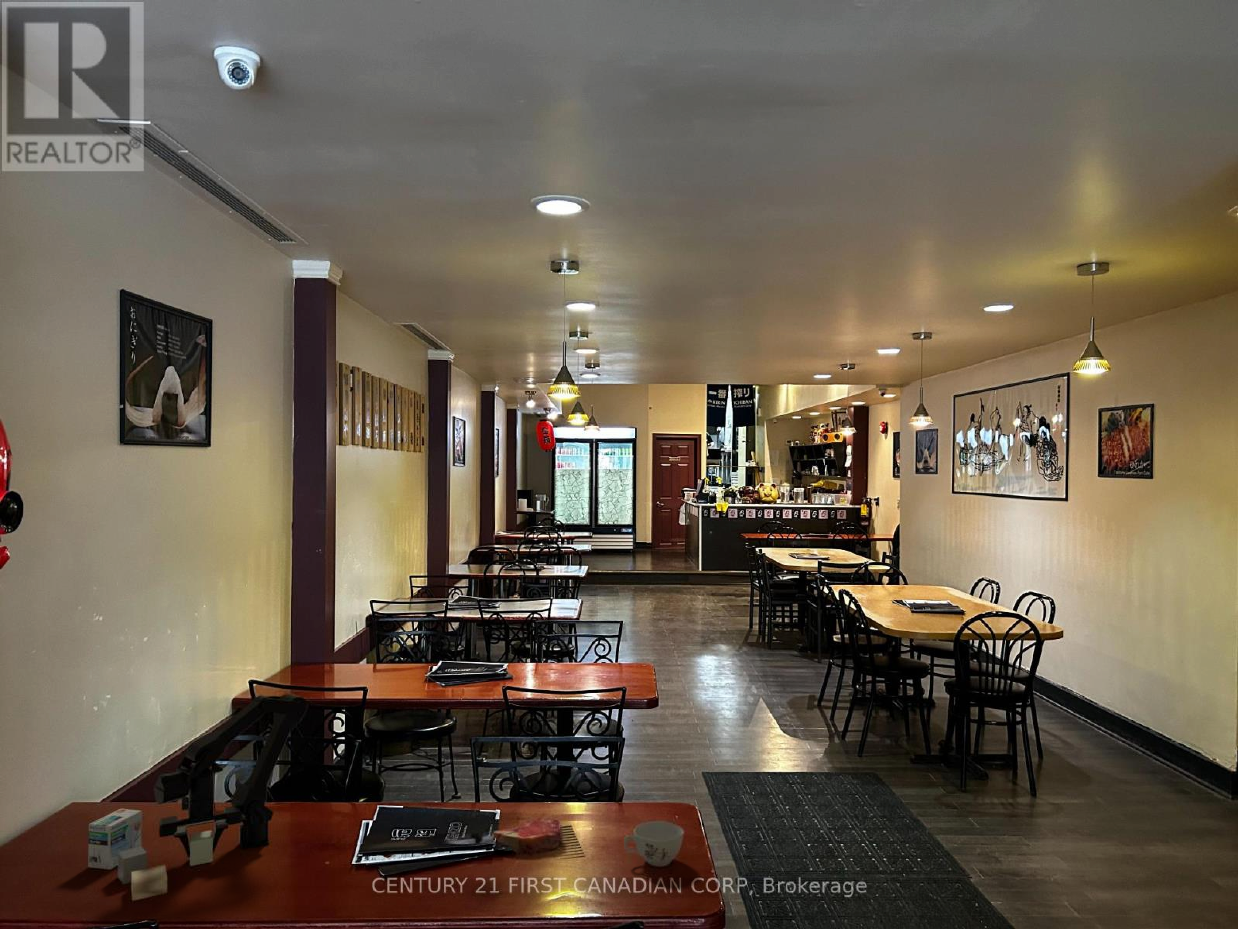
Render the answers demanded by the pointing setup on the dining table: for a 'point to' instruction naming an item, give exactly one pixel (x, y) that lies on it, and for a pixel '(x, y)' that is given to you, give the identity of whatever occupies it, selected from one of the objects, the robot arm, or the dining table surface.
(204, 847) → the sage block
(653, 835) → the teacup
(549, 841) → the steak
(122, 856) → the grey block
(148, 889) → the maple base
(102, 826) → the light bulb box
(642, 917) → the dining table surface
